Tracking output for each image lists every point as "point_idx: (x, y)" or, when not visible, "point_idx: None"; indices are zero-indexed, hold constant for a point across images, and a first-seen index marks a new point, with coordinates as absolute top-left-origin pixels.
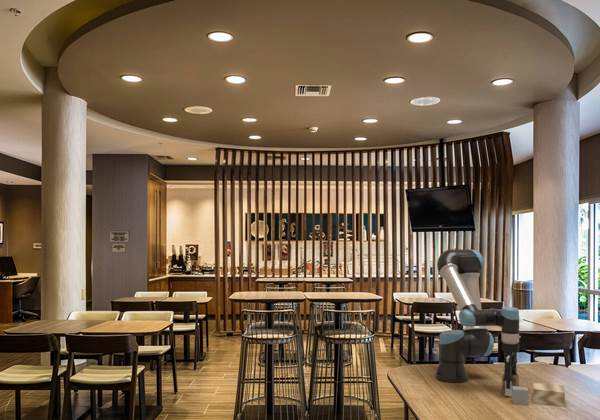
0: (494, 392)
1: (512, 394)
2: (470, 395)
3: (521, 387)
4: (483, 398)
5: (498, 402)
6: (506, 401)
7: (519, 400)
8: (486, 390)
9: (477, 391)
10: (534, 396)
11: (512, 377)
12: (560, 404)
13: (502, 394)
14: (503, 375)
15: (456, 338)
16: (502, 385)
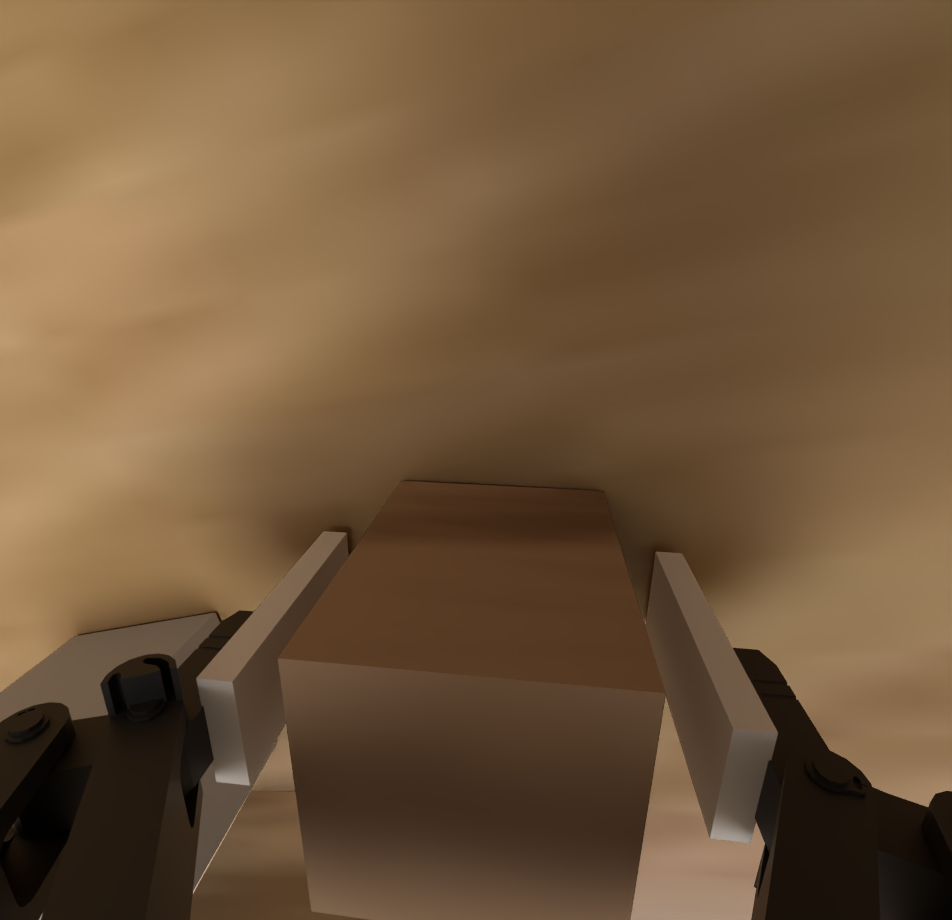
0: (477, 356)
1: (81, 684)
2: (41, 27)
3: None
4: (39, 277)
5: (17, 488)
6: (127, 562)
7: None
8: (539, 204)
9: (375, 64)
10: (210, 877)
11: (309, 852)
12: None
13: (400, 485)
14: (385, 681)
15: None
16: (358, 546)
